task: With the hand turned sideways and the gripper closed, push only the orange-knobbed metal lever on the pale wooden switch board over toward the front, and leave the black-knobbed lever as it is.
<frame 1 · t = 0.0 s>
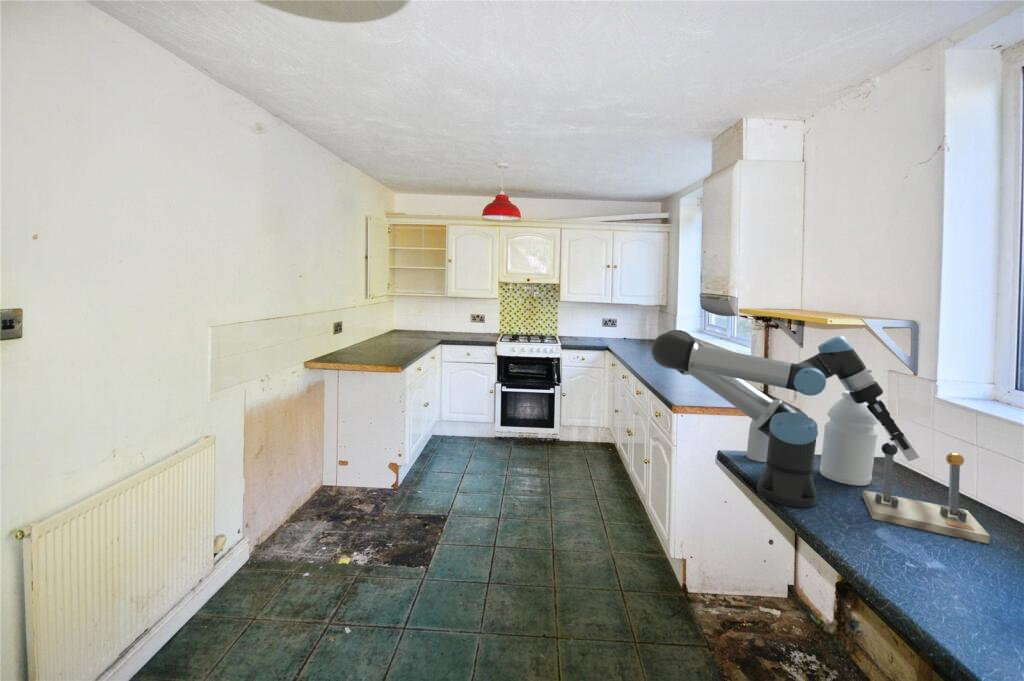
hand: (907, 452, 137), 15 cm above the worktop, tool tilted 35°, fingers open, 13 cm apart
bottle: (844, 478, 157), on the worktop
milk bottle: (758, 459, 172), on the worktop
switch board: (919, 518, 130), on the worktop
black knob lever: (888, 472, 135), point 10 cm above the worktop, hinge at -20.0°
orange knob lever: (954, 483, 128), point 10 cm above the worktop, hinge at -20.0°
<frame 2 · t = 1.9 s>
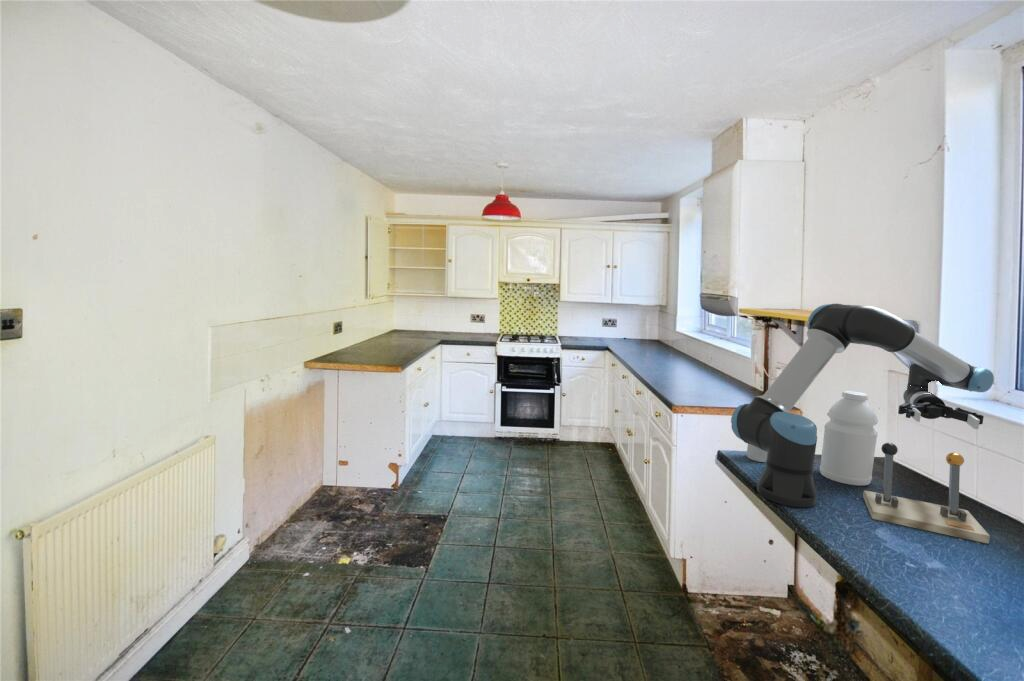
hand: (947, 420, 137), 24 cm above the worktop, tool horizontal, fingers open, 12 cm apart
nothing on the worktop moved.
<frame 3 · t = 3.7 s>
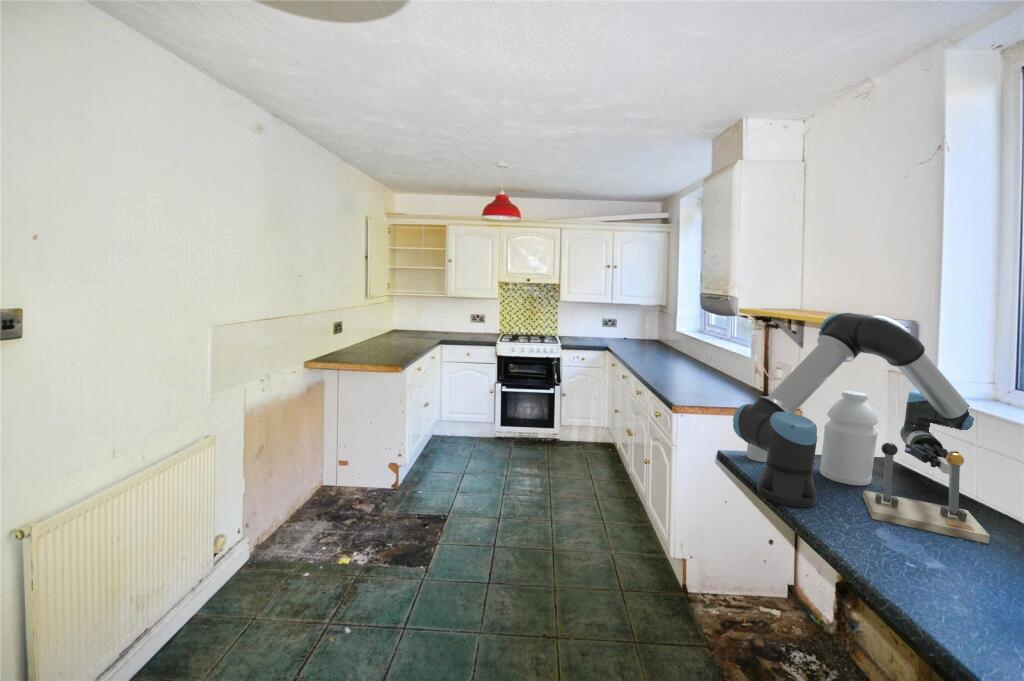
hand: (947, 468, 134), 12 cm above the worktop, tool horizontal, fingers closed
nothing on the worktop moved.
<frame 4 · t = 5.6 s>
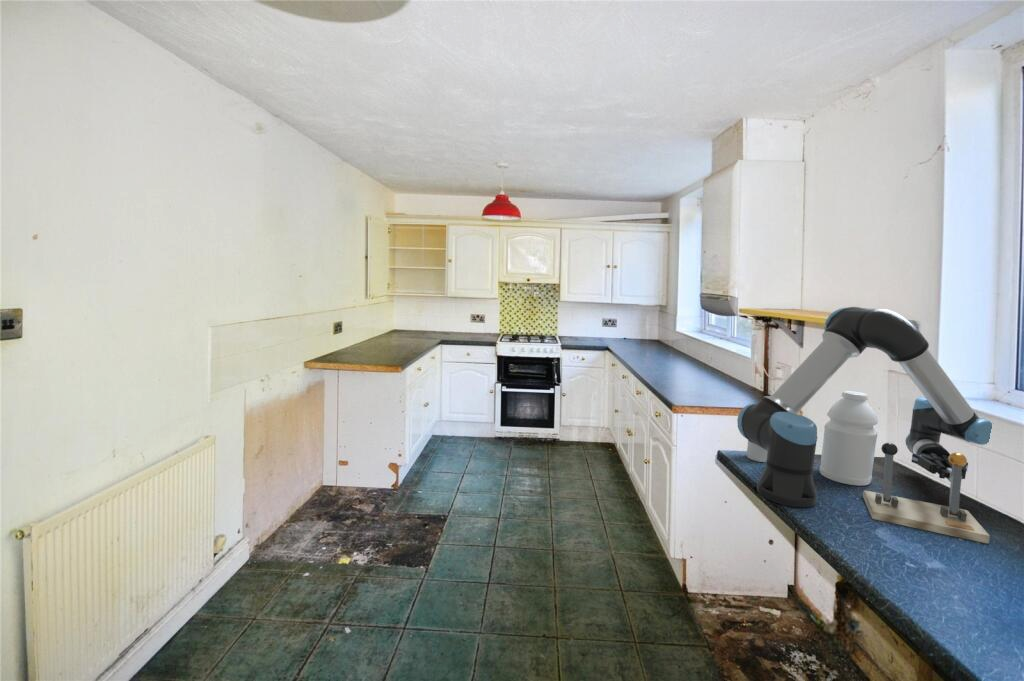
hand: (957, 480, 128), 11 cm above the worktop, tool horizontal, fingers closed
orange knob lever: (955, 483, 127), point 11 cm above the worktop, hinge at -11.6°, touching gripper
everything else where it was.
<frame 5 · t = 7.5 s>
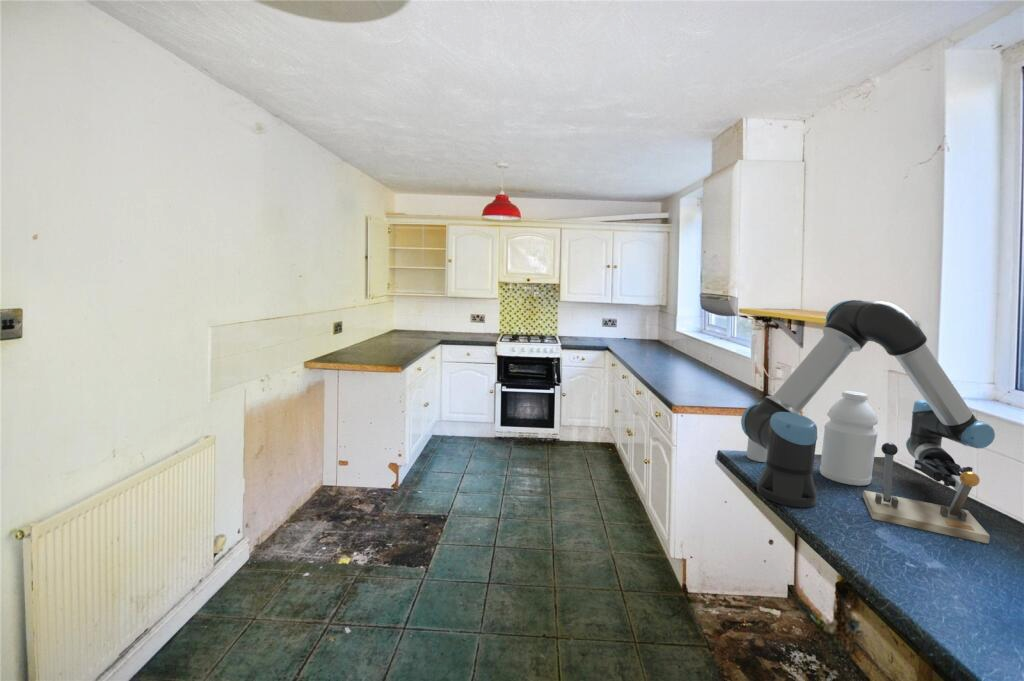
hand: (963, 489, 123), 11 cm above the worktop, tool horizontal, fingers closed
orange knob lever: (961, 494, 123), point 10 cm above the worktop, hinge at 32.4°, touching gripper
everything else where it was.
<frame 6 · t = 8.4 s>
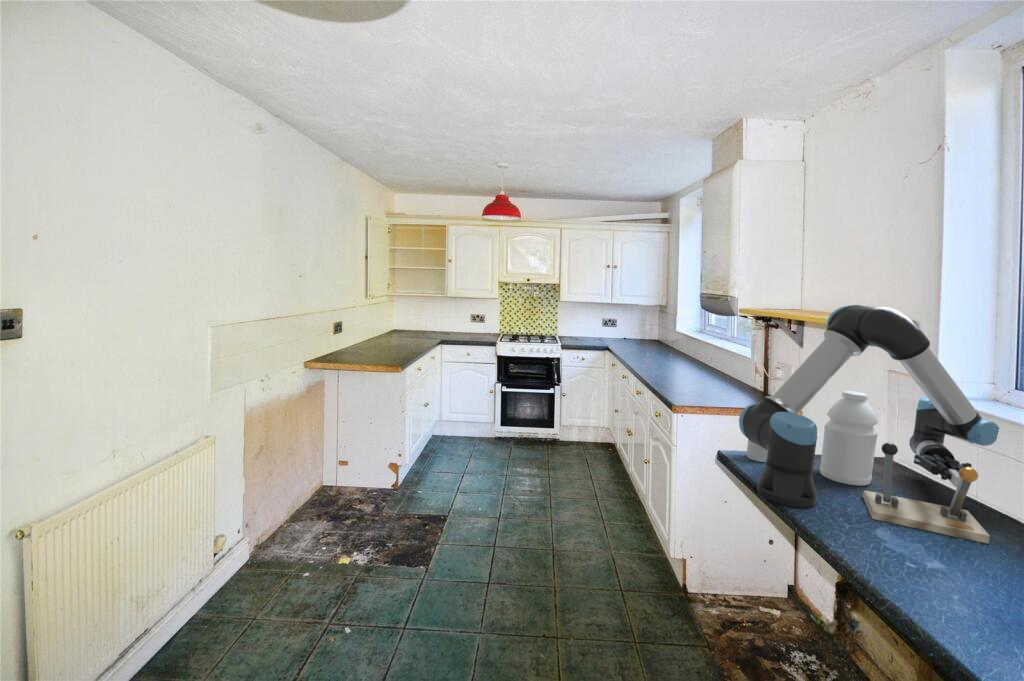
hand: (959, 482, 126), 11 cm above the worktop, tool horizontal, fingers closed
orange knob lever: (961, 492, 123), point 10 cm above the worktop, hinge at 26.2°
everything else where it was.
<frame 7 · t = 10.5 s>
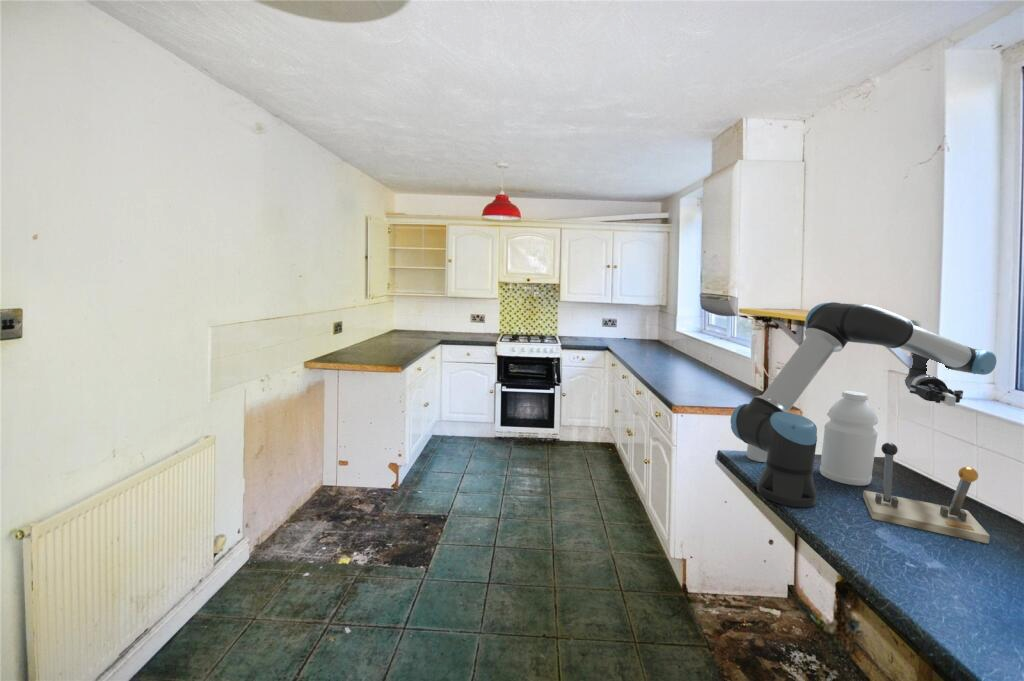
hand: (951, 401, 136), 30 cm above the worktop, tool horizontal, fingers closed
nothing on the worktop moved.
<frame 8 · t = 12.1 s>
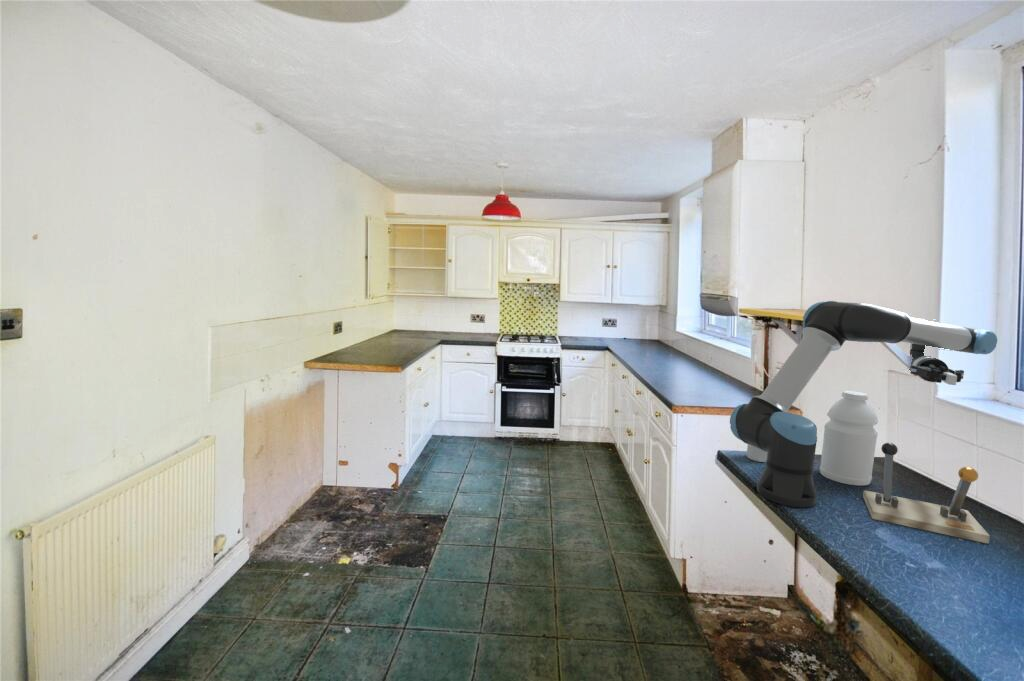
hand: (953, 380, 136), 36 cm above the worktop, tool horizontal, fingers closed
nothing on the worktop moved.
at the end: orange knob lever at +26° (first picture: -20°); black knob lever at -20° (first picture: -20°) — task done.
